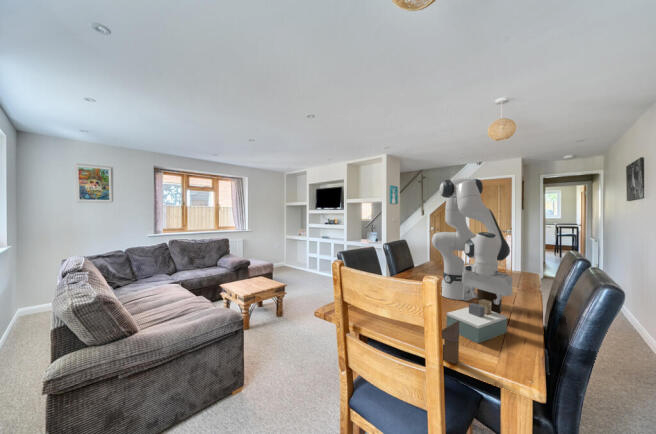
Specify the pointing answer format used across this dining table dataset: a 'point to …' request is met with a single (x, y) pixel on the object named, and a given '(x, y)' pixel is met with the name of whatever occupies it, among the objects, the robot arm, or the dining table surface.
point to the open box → (479, 330)
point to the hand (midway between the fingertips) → (485, 300)
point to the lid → (476, 316)
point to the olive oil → (489, 297)
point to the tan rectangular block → (486, 306)
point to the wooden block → (451, 343)
